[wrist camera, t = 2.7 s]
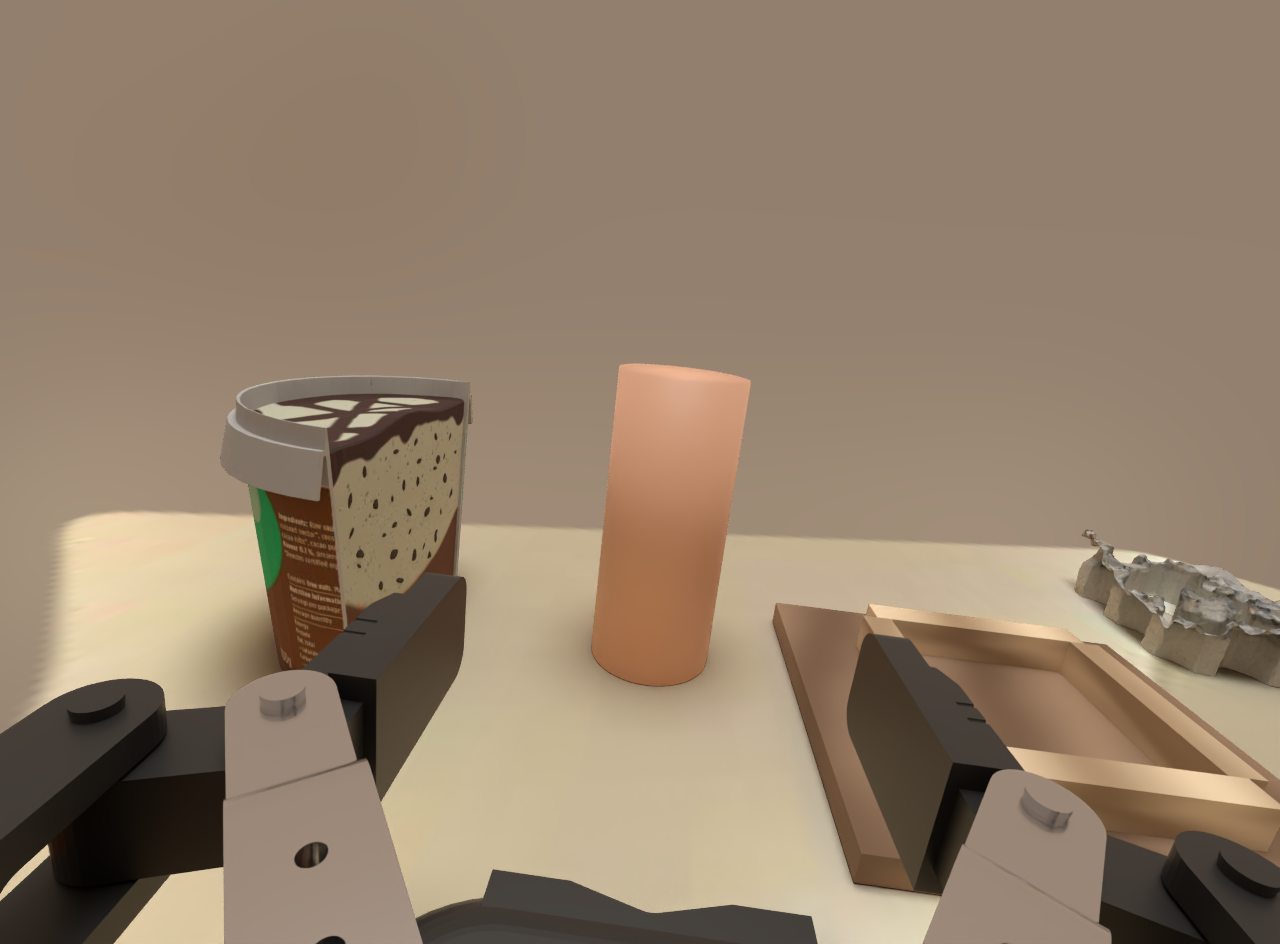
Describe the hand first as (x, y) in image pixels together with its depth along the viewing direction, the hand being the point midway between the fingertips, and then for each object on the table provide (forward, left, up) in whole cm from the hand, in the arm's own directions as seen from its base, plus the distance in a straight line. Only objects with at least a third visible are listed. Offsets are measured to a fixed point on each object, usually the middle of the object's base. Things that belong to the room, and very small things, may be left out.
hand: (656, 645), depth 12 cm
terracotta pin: (0, -12, -8) cm, 15 cm away
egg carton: (-30, -21, -8) cm, 38 cm away
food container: (+13, -11, -8) cm, 19 cm away
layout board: (-14, -9, -8) cm, 19 cm away
